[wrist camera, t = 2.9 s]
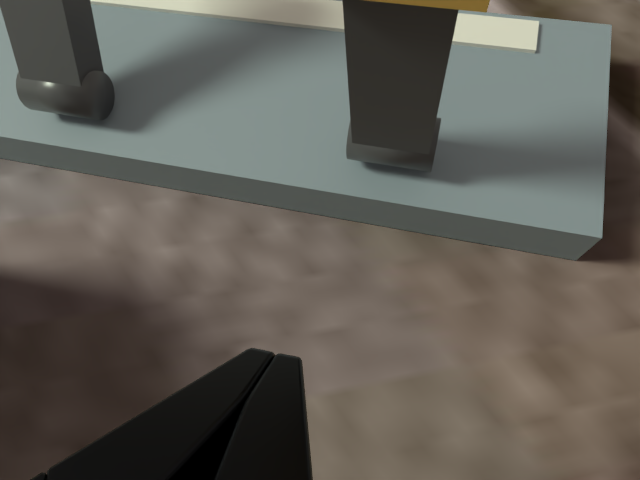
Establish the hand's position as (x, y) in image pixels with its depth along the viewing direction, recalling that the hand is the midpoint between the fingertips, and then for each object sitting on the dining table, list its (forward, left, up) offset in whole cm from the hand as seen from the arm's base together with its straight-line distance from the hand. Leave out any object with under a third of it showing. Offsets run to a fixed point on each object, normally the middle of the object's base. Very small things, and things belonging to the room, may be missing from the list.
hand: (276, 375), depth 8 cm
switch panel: (+10, +11, -12) cm, 19 cm away
